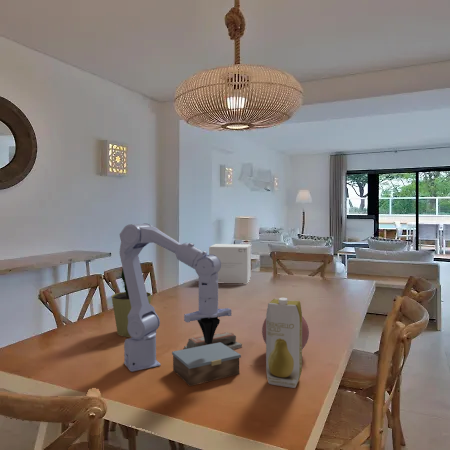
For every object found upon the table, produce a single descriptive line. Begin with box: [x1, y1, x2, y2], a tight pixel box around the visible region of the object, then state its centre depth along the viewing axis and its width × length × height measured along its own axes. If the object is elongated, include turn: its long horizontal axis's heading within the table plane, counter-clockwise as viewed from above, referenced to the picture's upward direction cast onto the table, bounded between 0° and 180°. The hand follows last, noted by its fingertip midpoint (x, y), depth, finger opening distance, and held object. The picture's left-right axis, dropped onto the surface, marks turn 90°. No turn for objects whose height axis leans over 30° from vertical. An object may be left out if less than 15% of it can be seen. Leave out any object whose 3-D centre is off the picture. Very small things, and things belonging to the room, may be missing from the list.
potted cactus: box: [111, 261, 152, 338], centre depth 156 cm, size 15×15×30 cm
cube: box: [208, 243, 252, 284], centre depth 266 cm, size 25×21×24 cm
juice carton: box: [265, 297, 303, 389], centre depth 111 cm, size 9×8×24 cm
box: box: [172, 355, 240, 387], centre depth 118 cm, size 16×12×5 cm
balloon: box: [261, 315, 310, 350], centre depth 130 cm, size 15×20×15 cm
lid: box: [171, 342, 242, 369], centre depth 117 cm, size 17×13×1 cm
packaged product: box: [183, 331, 243, 350], centre depth 139 cm, size 18×5×10 cm
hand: (208, 342), depth 116 cm, fingers closed
